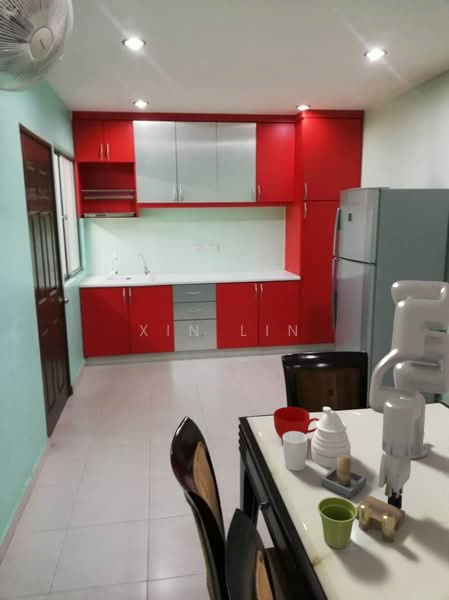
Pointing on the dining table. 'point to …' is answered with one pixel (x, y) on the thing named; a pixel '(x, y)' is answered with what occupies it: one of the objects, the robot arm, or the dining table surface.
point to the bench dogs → (387, 522)
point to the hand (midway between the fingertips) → (394, 507)
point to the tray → (348, 492)
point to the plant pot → (337, 520)
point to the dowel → (344, 470)
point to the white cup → (294, 450)
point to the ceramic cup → (292, 420)
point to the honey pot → (329, 439)
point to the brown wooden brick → (381, 508)
